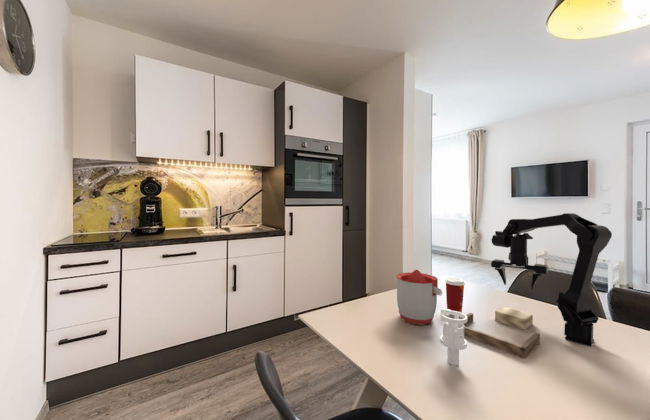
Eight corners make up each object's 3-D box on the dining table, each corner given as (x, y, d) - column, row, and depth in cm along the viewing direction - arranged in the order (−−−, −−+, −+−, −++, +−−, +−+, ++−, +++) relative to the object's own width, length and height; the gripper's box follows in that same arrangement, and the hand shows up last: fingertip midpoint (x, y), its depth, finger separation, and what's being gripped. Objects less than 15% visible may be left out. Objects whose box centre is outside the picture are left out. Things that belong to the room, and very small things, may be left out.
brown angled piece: (539, 342, 91) (539, 333, 91) (524, 358, 82) (524, 348, 81) (470, 320, 109) (470, 312, 108) (450, 331, 99) (451, 322, 99)
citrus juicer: (435, 333, 97) (436, 277, 97) (389, 320, 108) (390, 270, 107) (446, 319, 110) (447, 269, 109) (404, 308, 120) (404, 263, 120)
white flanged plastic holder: (443, 352, 84) (444, 304, 84) (469, 361, 80) (470, 310, 80) (436, 363, 79) (437, 311, 79) (463, 372, 75) (464, 318, 74)
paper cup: (468, 316, 113) (468, 282, 112) (449, 315, 113) (449, 282, 112) (459, 308, 120) (459, 277, 120) (441, 308, 121) (441, 277, 120)
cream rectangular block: (532, 324, 106) (532, 314, 105) (524, 330, 101) (524, 319, 101) (503, 316, 114) (503, 306, 114) (495, 320, 109) (495, 310, 109)
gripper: (549, 249, 112) (549, 287, 112) (497, 245, 125) (496, 279, 125) (546, 252, 104) (546, 293, 104) (490, 247, 117) (490, 284, 117)
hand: (518, 286), depth 113 cm, fingers open, 9 cm apart
